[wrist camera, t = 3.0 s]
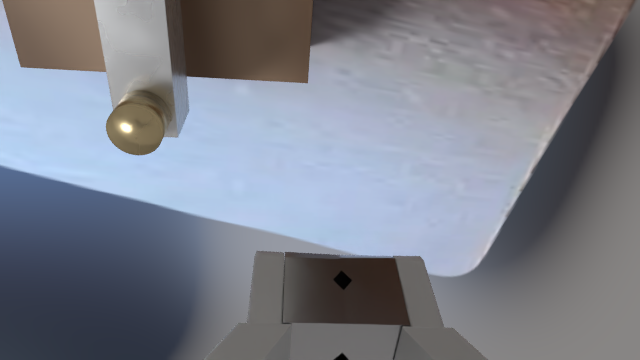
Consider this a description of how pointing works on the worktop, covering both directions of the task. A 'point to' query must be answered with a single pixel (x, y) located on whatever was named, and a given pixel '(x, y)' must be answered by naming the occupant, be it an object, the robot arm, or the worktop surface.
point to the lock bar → (143, 71)
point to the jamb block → (198, 33)
